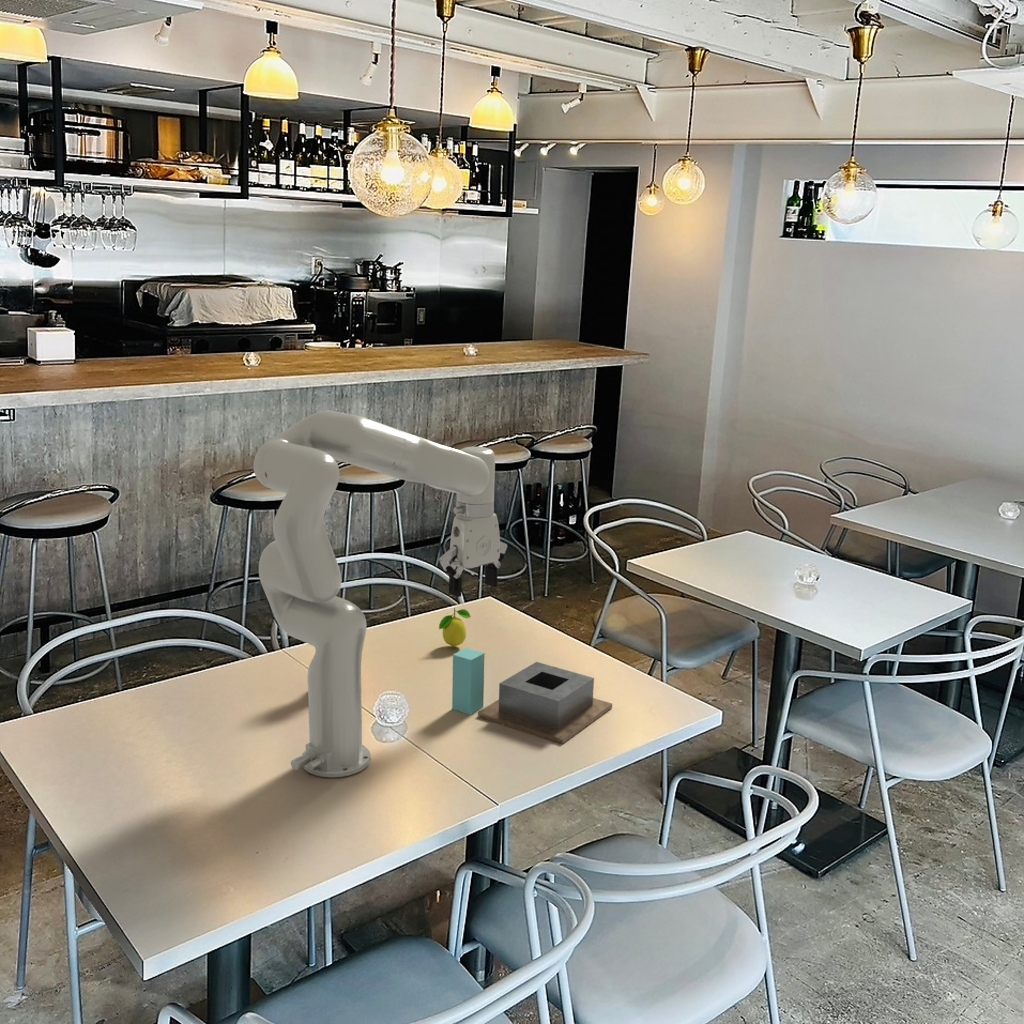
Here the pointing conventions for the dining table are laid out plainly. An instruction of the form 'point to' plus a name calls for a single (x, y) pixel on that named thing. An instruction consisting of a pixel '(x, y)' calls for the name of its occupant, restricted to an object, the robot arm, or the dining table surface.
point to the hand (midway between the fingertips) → (473, 590)
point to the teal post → (468, 681)
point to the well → (546, 702)
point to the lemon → (454, 628)
